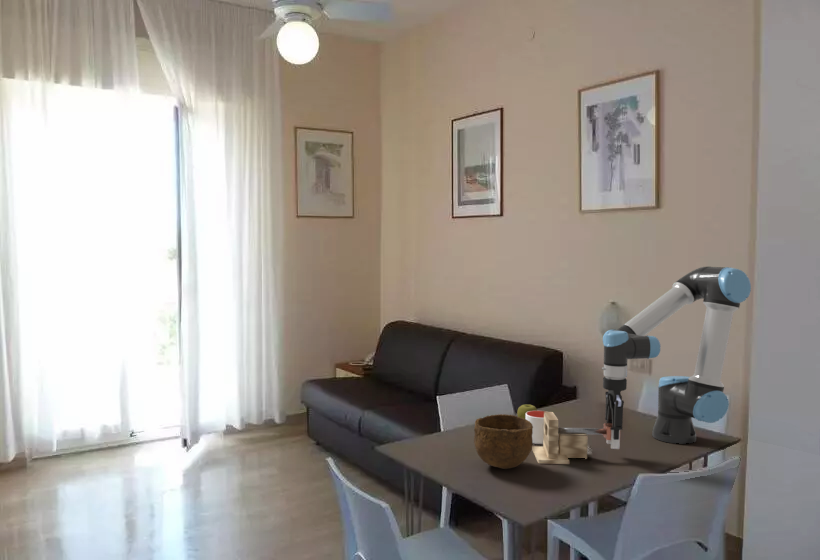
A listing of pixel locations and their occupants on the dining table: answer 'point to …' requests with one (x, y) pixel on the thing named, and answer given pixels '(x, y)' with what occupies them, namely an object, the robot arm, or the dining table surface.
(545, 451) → the slotted wooden stand
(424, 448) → the dining table surface
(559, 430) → the metal rod with block
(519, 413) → the apple
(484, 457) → the bowl
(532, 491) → the dining table surface
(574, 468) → the dining table surface
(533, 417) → the cup
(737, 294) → the robot arm
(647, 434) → the dining table surface
